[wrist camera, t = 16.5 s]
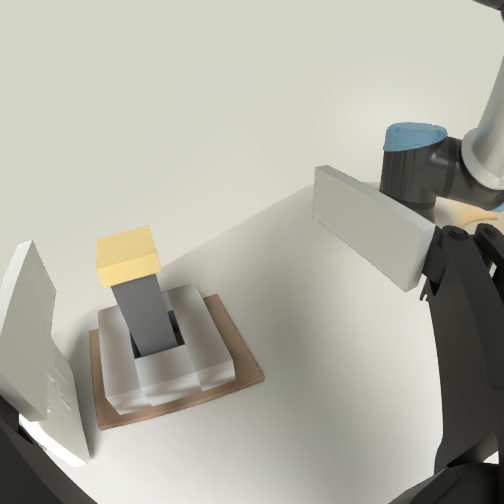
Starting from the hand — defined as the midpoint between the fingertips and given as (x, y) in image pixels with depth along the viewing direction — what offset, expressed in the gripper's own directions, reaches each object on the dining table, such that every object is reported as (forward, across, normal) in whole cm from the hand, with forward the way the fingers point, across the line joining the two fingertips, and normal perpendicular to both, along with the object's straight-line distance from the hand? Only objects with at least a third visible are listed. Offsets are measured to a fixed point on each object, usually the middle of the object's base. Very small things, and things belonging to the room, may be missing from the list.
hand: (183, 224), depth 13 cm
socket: (+14, -4, -24) cm, 28 cm away
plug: (+14, -4, -24) cm, 28 cm away
